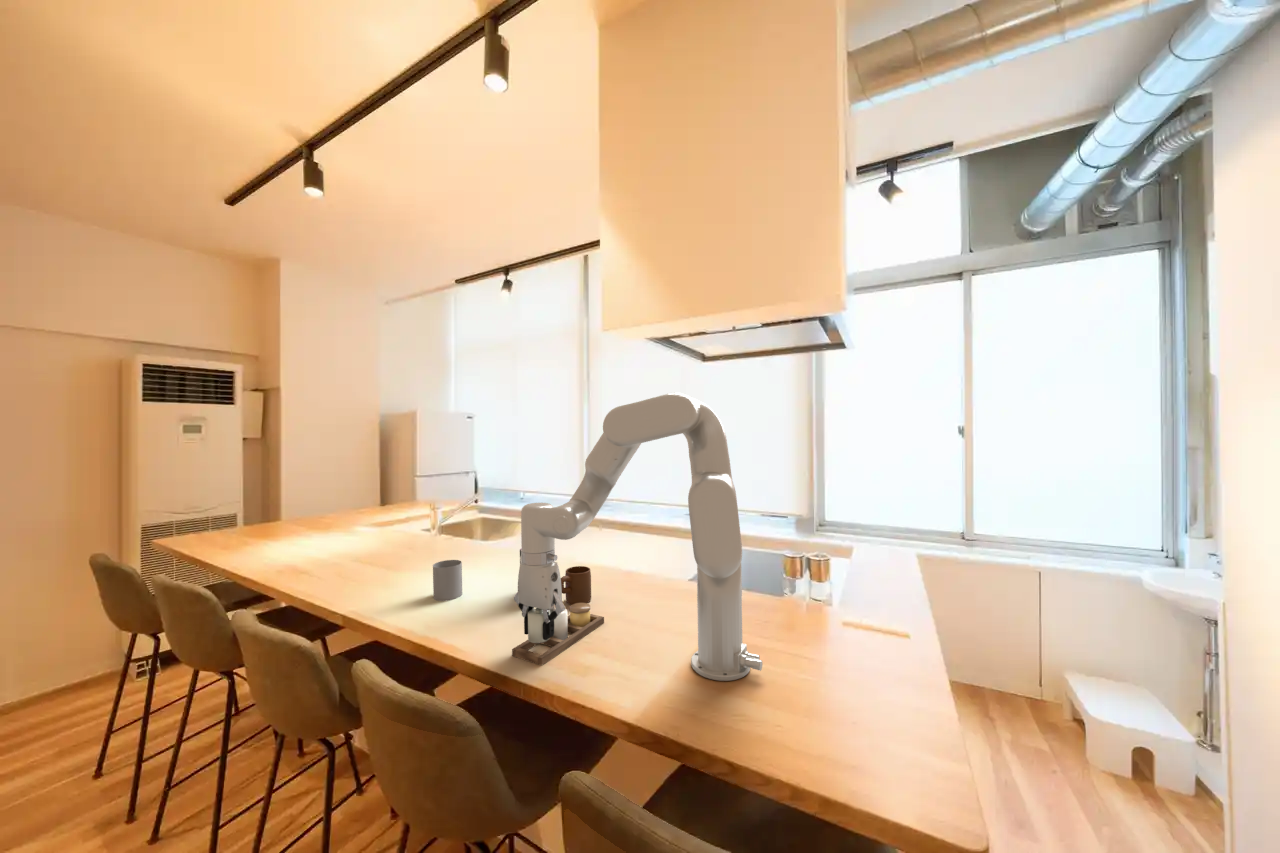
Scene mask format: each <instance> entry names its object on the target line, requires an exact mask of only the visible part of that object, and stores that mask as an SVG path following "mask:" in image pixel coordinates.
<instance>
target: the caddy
mask: <svg viewBox="0 0 1280 853" xmlns="http://www.w3.org/2000/svg"><path fill="white" fill-rule="evenodd" d="M604 624H605V616H601V615H597V614H593V613H590V623H589V624H587V625H586V626H584V627H579V626H575V625H571V624H570V614H569V615H568V634H570V635H568V637H567V638H566V639H564V640H561V639H557V638H554V637H550V639H549V640H547V641H545V642H542V643H540V644H542V645H545V646H547V647H548V646H549V647H550V648H549V649H548V650H545V651H544V652H543V653H542V654H541V653H537V652H534V651H531V650H530V649H532V648H534V647H535V646H536V645H538V644H539V643H532V642H529V641H528V639H527V640H525V641H524V642H521V643H520V644H519V645H517V646H515V647H513V648H512V649H511V656H512V657H514V658H517V659H519V660H520V659H521V660H523V661H526V662H529V663H533V664H536V665H540V666H543V665H545V664H546V663H549V661H551V660H552V659H554V658H555V657H557V656H558V655H559V654H561V653H562V652H564V651H565V650H567V649H569V648H570V647H572V645H574V644H576V643H577V642H579V641H580V640H581V639H583V638H584V637H586V636H587V635H589V634H590V633H591V632H593V631H595V630H596V629H597V628H599V627H601V626H602V625H604Z"/></svg>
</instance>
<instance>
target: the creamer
mask: <svg viewBox="0 0 1280 853" xmlns="http://www.w3.org/2000/svg"><path fill="white" fill-rule="evenodd" d="M568 616H569V615H568V609H567V608H565V610H564V611H563V612H561V613H560V614H559V615H558V616H557V618H556V619H554V635H553V636H552V637H554V638H557V639H561V640H564V639H566V638H567V637H569V633H568Z"/></svg>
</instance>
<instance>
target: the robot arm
mask: <svg viewBox="0 0 1280 853" xmlns="http://www.w3.org/2000/svg"><path fill="white" fill-rule="evenodd" d="M602 430H603V432H602V434H601V436H600V437H599V438H598V440H597V442H596V443H595V445H594V446H593V448H592V449H591V451H590V453H589V454H588V455H587V457H586V459H585V462H584V463H585V464H584V467H585V470H584V471H585V472H584V475H583V478H582V480H581V482H580V484H578V487H577V489H576V490H575V492H574V493H573V495H572V497H570V499H569V500H568V501H567V502H565V503H564V504H562V505H559V506H553V505H552V504H551V503H548V502H532V503H530V502H529V503H527V504H524V506H522V508H521V511H520V526H521V527H520V531H521V532H520V535H521V538H520V539H521V540H520V543H521V544H520V545H521V548H522V562H521V563H520V562H519V569H518V575H517V576H518V577H517V592H516V594H515V595H514V596H513V600H514V602H515V603H516V604H517V605H518V608H519V610H520V611H521V616H522V617H523V626H524V627H523V632H524V635H527V636H528V612H529V611H530V610H533V609H536V608H539V609H542V610H543V615H544V619H545V622H544V623H543V639H544V640H547V639H549V638H550V637H552V636H553V635H554V619H556V618H557V616H558V615H559V614H560V613H561V612H563V611H564V610H565V609H566V606H565V605H564V603H563V595H562V594H563V593H562V588H561V578H562V577H561V571H560V567H559V564H558V562H556V561H557V560H558V555H557V554H555V552H556V551H555V550H556V549H555V548H556V547H555V544H556V543H555V541H556V540H563V541H566V540H567V541H568V540H571V539H574V538H575V537H576V536H578V535H579V534H581V532H583V531H584V530H585V529H586V528H588V527H589V526H590V524H591V523H592V522H593V520H594V519H595V517H596V516H597V514H598V513H599V512H600V510H601V508H602V507H603V506H604V504H605V502H606V500H607V499H608V497H609V495H610V494H611V492H612V491H613V488H614V487H615V486H616V484H617V482H618V480H619V478H620V476H622V474H623V472H624V471H625V469H626V467H627V466H628V464H630V461H631V460H632V458H633V457H634V456H635V454H636V452H637V451H638V449H639V448H640V446H641V445H642V444H643V443H648V442H652V441H655V440H659V439H664V438H668V437H672V436H677V435H681V434H682V435H683V436H684V437H685V439H686V442H687V447H688V456H689V464H690V474H691V484H690V485H691V486H690V488H689V490H688V495H687V501H688V504H687V505H688V514H689V515H688V516H689V523H690V524H689V525H690V531H691V532H690V533H691V541H692V552H693V557H694V561H695V563H696V571H697V572H696V573H697V574H696V580H697V582H696V584H697V585H696V587H697V588H696V591H697V594H696V596H697V597H696V600H697V604H696V605H697V606H696V607H697V650H696V651H695V652H694V653H693V654H692V656H691V657H690V663H691V664H690V665H691V667H692V669H693V670H694V672H696V674H698V675H700V676H701V677H704V678H706V679H709V680H714V681H721V682H724V681H725V682H729V681H735V680H739V679H742V678H744V677H745V676H747V675H748V674H749V672H750V670H751V669H752V670H757V671H760V672H761V671H762V669H763V660H761V659H760V655H759V654H756V653H751V652H749V651H748V646H747V644H746V643H743V598H742V597H743V578H742V577H743V576H742V560H743V546H742V545H743V544H742V537H741V526H740V517H739V508H738V499H737V492H736V488H735V484H734V481H733V476H732V469H731V468H732V466H731V460H730V453H729V446H728V440H727V435H726V431H725V428H724V425H723V423H722V421H721V418H720V417H719V416H718V415H717V413H716V412H715V411H714V410H713V409H712V408H711V407H710V406H709V405H707V404H706V403H705V402H702V401H700V400H699V399H696V398H694V397H692V396H690V395H687V394H686V393H682V392H669V393H665V394H662V395H658V396H655V397H650V398H647V399H643V400H639V401H636V402H631V403H627V404H623V405H619V406H616V407H614V408H613V409H610V411H608V412H607V414H606V415H605V417H604V419H603V423H602ZM555 539H556V540H555ZM548 610H550V615H549V612H548Z"/></svg>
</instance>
